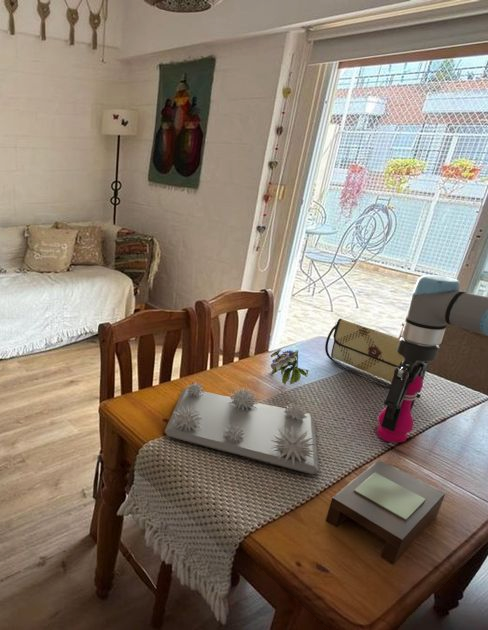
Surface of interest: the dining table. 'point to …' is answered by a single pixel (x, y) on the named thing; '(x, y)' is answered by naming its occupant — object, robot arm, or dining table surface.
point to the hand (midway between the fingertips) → (394, 423)
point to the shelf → (388, 506)
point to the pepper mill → (401, 415)
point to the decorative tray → (246, 428)
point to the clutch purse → (365, 350)
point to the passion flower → (283, 362)
